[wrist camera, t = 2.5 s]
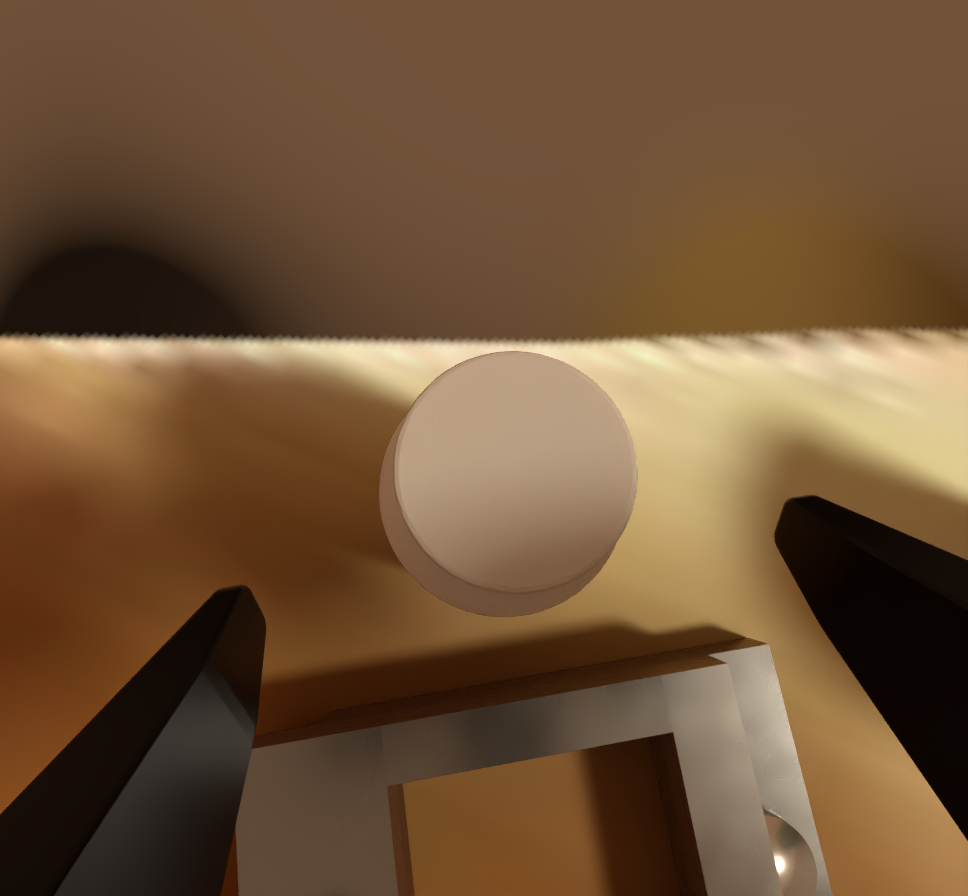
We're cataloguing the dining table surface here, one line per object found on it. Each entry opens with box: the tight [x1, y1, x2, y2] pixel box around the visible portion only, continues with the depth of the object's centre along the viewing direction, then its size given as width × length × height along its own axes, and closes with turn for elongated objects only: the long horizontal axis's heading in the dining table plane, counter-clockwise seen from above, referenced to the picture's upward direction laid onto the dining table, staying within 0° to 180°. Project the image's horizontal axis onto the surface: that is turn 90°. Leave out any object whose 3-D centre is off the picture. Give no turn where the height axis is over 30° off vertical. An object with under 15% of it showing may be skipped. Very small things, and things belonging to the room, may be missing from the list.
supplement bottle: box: [379, 351, 638, 617], centre depth 13 cm, size 5×5×10 cm
